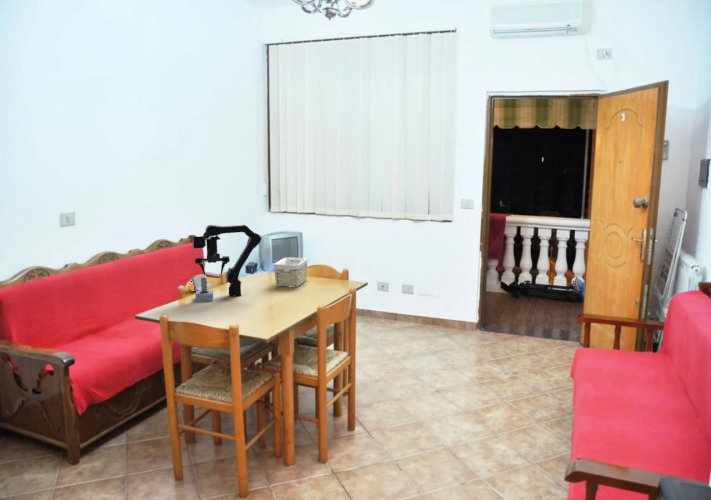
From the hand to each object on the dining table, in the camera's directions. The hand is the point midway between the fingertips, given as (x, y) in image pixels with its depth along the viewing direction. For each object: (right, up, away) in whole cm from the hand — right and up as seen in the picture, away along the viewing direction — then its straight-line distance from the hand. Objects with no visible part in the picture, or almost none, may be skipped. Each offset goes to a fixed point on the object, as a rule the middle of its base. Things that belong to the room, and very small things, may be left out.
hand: (213, 274), depth 314 cm
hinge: (-13, -10, +21) cm, 27 cm away
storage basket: (+40, -7, +37) cm, 55 cm away
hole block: (-4, -14, -3) cm, 15 cm away
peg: (-4, -14, -3) cm, 15 cm away
